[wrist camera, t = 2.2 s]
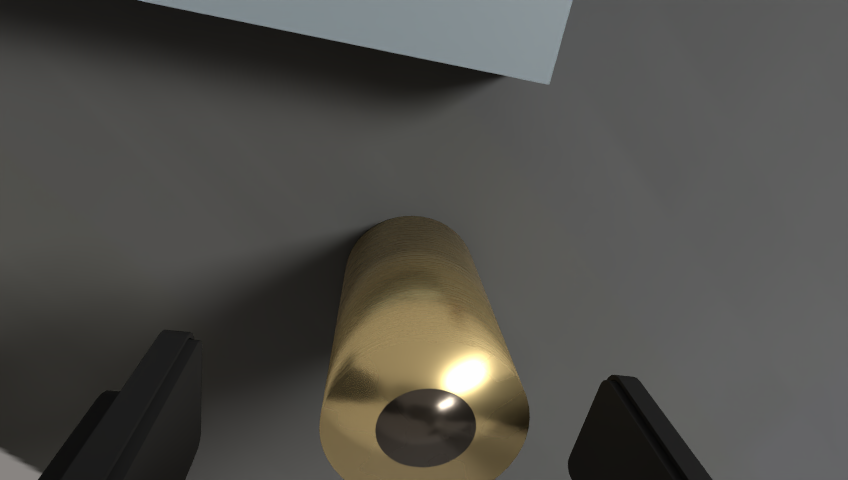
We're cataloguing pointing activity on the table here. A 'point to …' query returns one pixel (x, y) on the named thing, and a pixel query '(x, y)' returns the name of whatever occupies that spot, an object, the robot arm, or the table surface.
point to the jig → (419, 28)
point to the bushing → (419, 364)
